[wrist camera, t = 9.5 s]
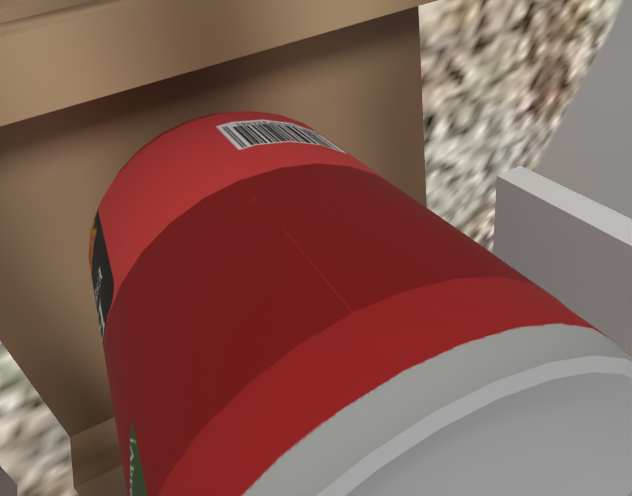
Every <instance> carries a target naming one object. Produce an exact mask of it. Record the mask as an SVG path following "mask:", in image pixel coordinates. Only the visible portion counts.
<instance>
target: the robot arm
mask: <svg viewBox="0 0 632 496" xmlns="http://www.w3.org/2000/svg"><path fill="white" fill-rule="evenodd" d="M493 254H494V255H495V256H496V257H498V258H499V259H501V260H502V261H504V262H505V263H507V264H508V265H509V266H511V267H512V268H514V269H515V270H517V271H518V272H519V273H521V274H522V275H524V276H525V277H527V278H528V279H529V280H531V281H532V282H534V283H535V284H537V285H538V286H540V287H541V288H542V289H544V290H545V291H547V292H548V293H550V294H551V295H552V296H554V297H555V298H557V299H558V300H559V301H560V302H561V303H563V304H564V305H565V306H566V307H567V308H569V309H570V310H571V311H573V312H574V313H575V314H577V315H578V316H580V317H581V318H582V319H584V320H585V321H587V322H588V323H590V324H591V325H592V326H594V327H595V328H597V329H598V330H599V331H601V332H602V333H604V334H605V335H607V336H608V337H609V338H611V339H612V340H614V341H615V342H616V343H617V344H618V346H619V347H620V348H621V349H622V350H623V352H624V353H625V354H627V355H628V356H630V357H631V358H632V219H630V218H628V217H626V216H624V215H621V214H620V213H617V212H615V211H613V210H611V209H609V208H607V207H605V206H603V205H601V204H599V203H596V202H594V201H592V200H590V199H588V198H586V197H584V196H582V195H580V194H578V193H576V192H573V191H571V190H570V189H567V188H565V187H563V186H561V185H559V184H557V183H555V182H553V181H551V180H549V179H547V178H544V177H542V176H540V175H538V174H536V173H534V172H532V171H530V170H528V169H526V168H524V167H522V166H519V167H516V168H514V169H512V170H509V171H507V172H504V173H502V174H500V175H497V186H496V206H495V226H494V246H493ZM0 496H17V484H16V483H15V482H14V481H13V480H12V479H11V478H10V476H9V475H8V474H7V473H6V472H5V471H4V470H3V469H2V468H1V466H0Z"/></svg>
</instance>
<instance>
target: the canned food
mask: <svg viewBox="0 0 632 496" xmlns="http://www.w3.org/2000/svg"><path fill="white" fill-rule="evenodd" d="M88 257H89V264H90V270H91V277H92V283H93V289H94V295H95V301H96V307H97V313H98V319H99V325H100V332H101V338H102V344H103V350H104V356H105V362H106V368H107V374H108V380H109V386H110V392H111V399H112V405H113V411H114V417H115V423H116V429H117V435H118V441H119V447H120V453H121V459H122V466H123V472H124V478H125V484H126V490H127V496H629V494H630V492H631V490H632V359H631V358H629V357H628V356H627V355H626V354H625V353H624V352H623V350H622V349H621V348H620V347H619V346H618V344H617V343H616V342H615V341H614V340H612V339H611V338H609V337H608V336H607V335H605V334H604V333H602V332H601V331H599V330H598V329H597V328H595V327H594V326H592V325H591V324H590V323H588V322H587V321H585V320H584V319H582V318H581V317H580V316H578V315H577V314H575V313H574V312H573V311H571V310H570V309H569V308H567V307H566V306H565V305H564V304H563V303H561V302H560V301H559V300H558V299H557V298H555V297H554V296H552V295H551V294H550V293H548V292H547V291H545V290H544V289H542V288H541V287H540V286H538V285H537V284H535V283H534V282H532V281H531V280H529V279H528V278H527V277H525V276H524V275H522V274H521V273H519V272H518V271H517V270H515V269H514V268H512V267H511V266H509V265H508V264H507V263H505V262H504V261H502V260H501V259H499V258H498V257H496V256H495V255H494V254H492V253H491V252H489V251H488V250H486V249H485V248H484V247H482V246H481V245H479V244H478V243H476V242H475V241H474V240H472V239H471V238H469V237H468V236H466V235H465V234H463V233H462V232H461V231H459V230H458V229H456V228H455V227H453V226H452V225H451V224H449V223H448V222H446V221H445V220H443V219H442V218H441V217H439V216H438V215H436V214H435V213H433V212H432V211H430V210H429V209H428V208H426V207H425V206H423V205H422V204H420V203H419V202H418V201H416V200H415V199H413V198H412V197H410V196H409V195H408V194H406V193H405V192H403V191H402V190H400V189H399V188H397V187H396V186H395V185H393V184H392V183H390V182H389V181H387V180H386V179H385V178H383V177H382V176H380V175H379V174H377V173H376V172H374V171H373V170H372V169H370V168H369V167H367V166H366V165H364V164H363V163H362V162H360V161H359V160H357V159H356V158H354V157H353V156H352V155H350V154H349V153H347V152H346V151H344V150H343V149H341V148H340V147H339V146H337V145H336V144H334V143H333V142H331V141H330V140H329V139H327V138H326V137H324V136H323V135H321V134H320V133H318V132H317V131H315V130H313V129H312V128H310V127H309V126H307V125H306V124H304V123H302V122H299V121H296V120H293V119H290V118H288V117H285V116H282V115H279V114H271V113H264V112H256V111H241V112H227V113H214V114H210V115H207V116H203V117H199V118H195V119H191V120H188V121H186V122H184V123H181V124H179V125H177V126H175V127H173V128H171V129H169V130H167V131H165V132H162V133H161V134H160V135H158V136H157V137H155V138H154V139H153V140H151V141H150V142H149V143H147V144H146V145H144V146H143V147H142V148H140V149H139V150H138V151H137V152H136V153H135V154H134V155H133V156H132V158H131V159H130V160H129V161H128V162H127V163H126V164H125V165H124V166H123V167H122V168H121V169H120V171H119V172H118V174H117V176H116V177H115V179H114V180H113V182H112V184H111V185H110V187H109V189H108V190H107V192H106V193H105V195H104V197H103V198H102V200H101V202H100V204H99V207H98V210H97V213H96V215H95V218H94V221H93V224H92V227H91V232H90V242H89V252H88Z"/></svg>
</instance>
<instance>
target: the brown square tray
mask: <svg viewBox="0 0 632 496" xmlns="http://www.w3.org/2000/svg"><path fill="white" fill-rule="evenodd" d="M433 1H437V0H0V341H1V342H2V343H3V345H4V346H5V348H6V349H7V350H8V352H9V353H10V354H11V356H12V357H13V359H14V360H15V361H16V363H17V364H18V366H19V367H20V368H21V370H22V371H23V373H24V374H25V375H26V377H27V378H28V379H29V381H30V382H31V384H32V385H33V386H34V388H35V389H36V391H37V392H38V393H39V395H40V396H41V398H42V399H43V400H44V402H45V403H46V404H47V406H48V407H49V409H50V410H51V411H52V413H53V414H54V416H55V417H56V418H57V420H58V421H59V423H60V424H61V425H62V427H63V428H64V430H65V431H66V432H67V434H68V435H69V436H70V443H71V455H72V468H73V480H74V489H75V490H76V491H77V492H78V494H79V495H80V496H127V490H126V484H125V478H124V472H123V466H122V459H121V453H120V447H119V441H118V435H117V429H116V423H115V417H114V411H113V405H112V399H111V392H110V386H109V380H108V374H107V368H106V362H105V356H104V350H103V344H102V338H101V332H100V325H99V319H98V313H97V307H96V301H95V295H94V289H93V283H92V277H91V270H90V264H89V257H88V252H89V242H90V232H91V227H92V224H93V221H94V218H95V215H96V213H97V210H98V207H99V204H100V202H101V200H102V198H103V197H104V195H105V193H106V192H107V190H108V189H109V187H110V185H111V184H112V182H113V180H114V179H115V177H116V176H117V174H118V172H119V171H120V169H121V168H122V167H123V166H124V165H125V164H126V163H127V162H128V161H129V160H130V159H131V158H132V156H133V155H134V154H135V153H136V152H137V151H138V150H139V149H140V148H142V147H143V146H144V145H146V144H147V143H149V142H150V141H151V140H153V139H154V138H155V137H157V136H158V135H160V134H161V133H162V132H165V131H167V130H169V129H171V128H173V127H175V126H177V125H179V124H181V123H184V122H186V121H188V120H191V119H195V118H199V117H203V116H207V115H210V114H214V113H227V112H241V111H256V112H264V113H271V114H279V115H282V116H285V117H288V118H290V119H293V120H296V121H299V122H302V123H304V124H306V125H307V126H309V127H310V128H312V129H313V130H315V131H317V132H318V133H320V134H321V135H323V136H324V137H326V138H327V139H329V140H330V141H331V142H333V143H334V144H336V145H337V146H339V147H340V148H341V149H343V150H344V151H346V152H347V153H349V154H350V155H352V156H353V157H354V158H356V159H357V160H359V161H360V162H362V163H363V164H364V165H366V166H367V167H369V168H370V169H372V170H373V171H374V172H376V173H377V174H379V175H380V176H382V177H383V178H385V179H386V180H387V181H389V182H390V183H392V184H393V185H395V186H396V187H397V188H399V189H400V190H402V191H403V192H405V193H406V194H408V195H409V196H410V197H412V198H413V199H415V200H416V201H418V202H419V203H420V204H422V205H423V206H425V207H426V208H427V206H426V182H425V158H424V134H423V110H422V86H421V62H420V37H419V13H418V6H419V5H423V4H426V3H430V2H433Z"/></svg>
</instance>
